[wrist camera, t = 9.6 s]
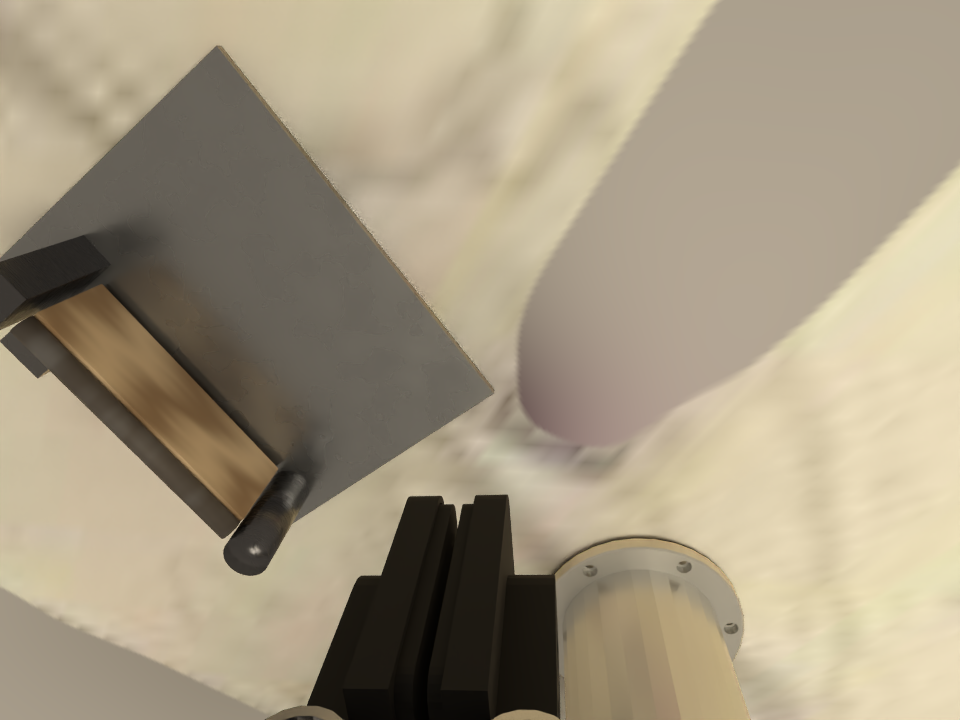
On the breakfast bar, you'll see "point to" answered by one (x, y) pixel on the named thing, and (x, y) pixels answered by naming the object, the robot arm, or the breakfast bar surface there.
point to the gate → (150, 404)
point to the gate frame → (251, 295)
